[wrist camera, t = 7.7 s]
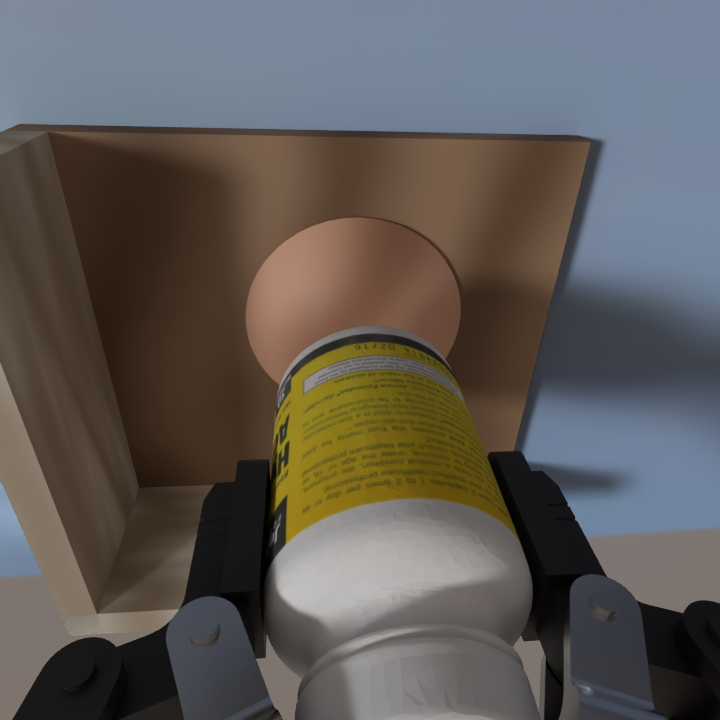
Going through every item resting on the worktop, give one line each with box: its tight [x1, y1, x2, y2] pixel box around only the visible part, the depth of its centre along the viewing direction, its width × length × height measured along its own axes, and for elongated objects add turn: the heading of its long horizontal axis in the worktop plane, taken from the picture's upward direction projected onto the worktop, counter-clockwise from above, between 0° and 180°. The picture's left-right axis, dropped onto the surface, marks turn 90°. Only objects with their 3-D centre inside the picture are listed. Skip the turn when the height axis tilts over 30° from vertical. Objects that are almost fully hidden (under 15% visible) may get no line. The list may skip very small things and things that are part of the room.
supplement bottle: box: [263, 326, 541, 720], centre depth 13 cm, size 5×5×10 cm
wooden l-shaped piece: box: [0, 124, 591, 636], centre depth 19 cm, size 18×16×7 cm
